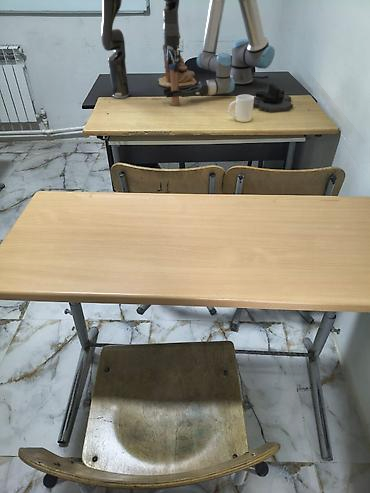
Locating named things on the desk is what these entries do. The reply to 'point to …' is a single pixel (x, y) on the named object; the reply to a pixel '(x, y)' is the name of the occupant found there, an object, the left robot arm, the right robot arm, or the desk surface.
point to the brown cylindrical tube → (174, 86)
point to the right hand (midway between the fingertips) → (165, 93)
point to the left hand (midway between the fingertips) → (173, 70)
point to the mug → (242, 108)
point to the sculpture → (183, 74)
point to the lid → (172, 66)
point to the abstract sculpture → (272, 100)
